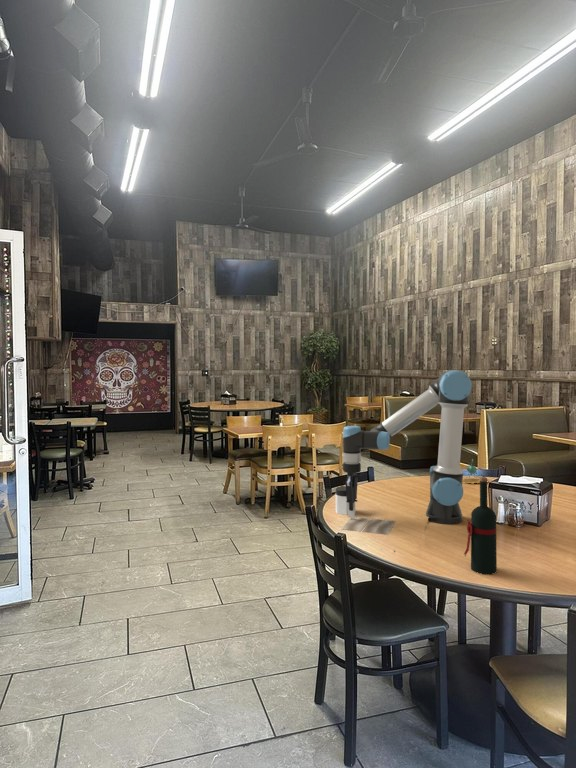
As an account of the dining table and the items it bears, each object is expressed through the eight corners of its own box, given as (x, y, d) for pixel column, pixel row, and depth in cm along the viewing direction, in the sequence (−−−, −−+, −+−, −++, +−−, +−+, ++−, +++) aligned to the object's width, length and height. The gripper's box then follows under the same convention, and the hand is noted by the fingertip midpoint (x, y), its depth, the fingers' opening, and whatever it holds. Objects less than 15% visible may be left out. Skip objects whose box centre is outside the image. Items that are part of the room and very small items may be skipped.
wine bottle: (460, 564, 162) (460, 475, 161) (491, 564, 161) (491, 475, 161) (467, 574, 154) (467, 480, 153) (500, 574, 154) (500, 480, 153)
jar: (343, 518, 213) (342, 491, 213) (331, 514, 220) (331, 488, 220) (358, 515, 218) (358, 488, 218) (346, 511, 225) (346, 485, 224)
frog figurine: (492, 485, 272) (489, 459, 271) (459, 488, 275) (456, 462, 275) (488, 481, 281) (485, 456, 281) (456, 483, 284) (453, 458, 284)
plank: (370, 521, 208) (370, 518, 208) (360, 534, 192) (360, 531, 192) (352, 518, 211) (352, 516, 211) (341, 531, 195) (341, 528, 195)
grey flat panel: (398, 524, 205) (398, 520, 205) (389, 539, 187) (389, 535, 187) (345, 518, 214) (345, 515, 214) (331, 532, 195) (331, 529, 195)
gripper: (347, 459, 214) (347, 512, 215) (339, 464, 202) (339, 520, 203) (364, 460, 211) (364, 514, 212) (356, 465, 199) (356, 522, 200)
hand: (351, 517), depth 207 cm, fingers closed
